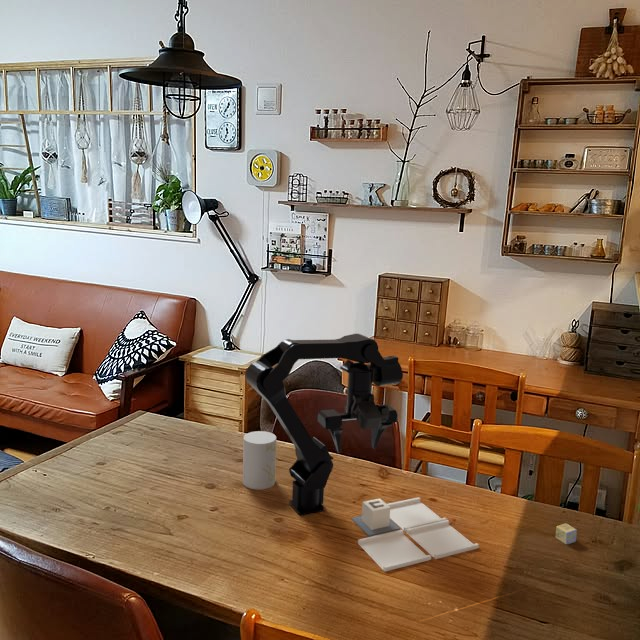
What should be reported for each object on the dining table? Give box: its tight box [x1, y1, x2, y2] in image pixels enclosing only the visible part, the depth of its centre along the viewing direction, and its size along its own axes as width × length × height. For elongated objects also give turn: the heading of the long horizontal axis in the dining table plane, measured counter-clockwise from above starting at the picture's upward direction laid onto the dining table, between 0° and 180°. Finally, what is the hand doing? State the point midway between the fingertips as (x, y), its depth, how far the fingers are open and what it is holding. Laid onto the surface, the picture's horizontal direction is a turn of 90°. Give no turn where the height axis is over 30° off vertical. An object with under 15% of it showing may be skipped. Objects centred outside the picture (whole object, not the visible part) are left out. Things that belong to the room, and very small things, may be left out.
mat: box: [350, 515, 401, 537], centre depth 144 cm, size 8×8×1 cm
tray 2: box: [357, 529, 432, 572], centre depth 133 cm, size 11×11×1 cm
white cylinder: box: [242, 430, 277, 490], centre depth 161 cm, size 8×8×12 cm
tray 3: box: [405, 519, 480, 560], centre depth 138 cm, size 11×11×1 cm
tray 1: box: [386, 496, 447, 533], centre depth 148 cm, size 11×11×1 cm
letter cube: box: [361, 497, 391, 530], centre depth 144 cm, size 4×4×5 cm
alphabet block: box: [555, 523, 578, 546], centre depth 141 cm, size 3×3×3 cm
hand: (356, 450), depth 154 cm, fingers open, 9 cm apart
